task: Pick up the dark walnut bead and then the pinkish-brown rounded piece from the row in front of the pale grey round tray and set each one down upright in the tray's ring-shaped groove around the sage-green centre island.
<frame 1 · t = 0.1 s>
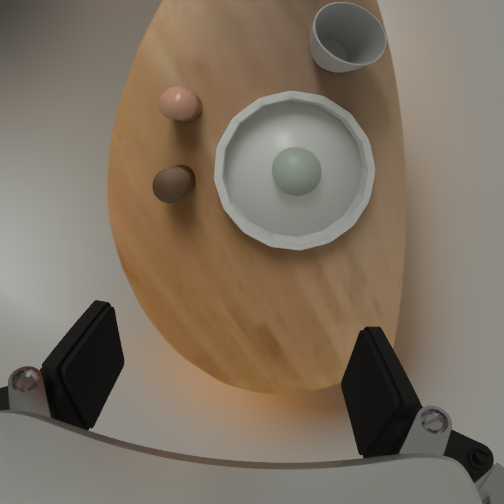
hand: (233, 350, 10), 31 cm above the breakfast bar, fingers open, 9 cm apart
cup: (329, 55, 32), on the breakfast bar
groove tray: (294, 169, 38), on the breakfast bar
pinkish-brown rounded piece: (187, 107, 35), on the breakfast bar
walnut bead: (181, 179, 39), on the breakfast bar
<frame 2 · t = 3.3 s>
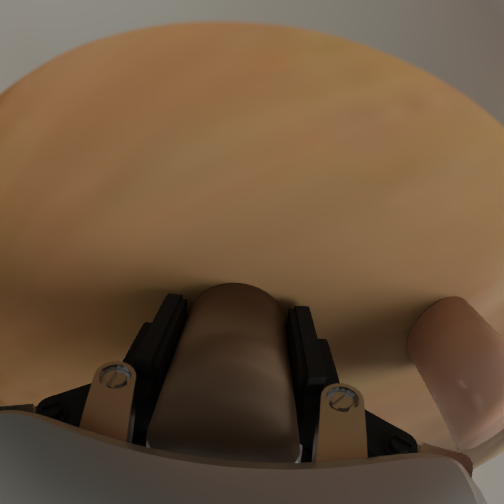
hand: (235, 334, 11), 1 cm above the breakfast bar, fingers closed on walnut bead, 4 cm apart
pinkish-brown rounded piece: (440, 331, 12), on the breakfast bar
walnut bead: (236, 326, 12), on the breakfast bar, touching gripper
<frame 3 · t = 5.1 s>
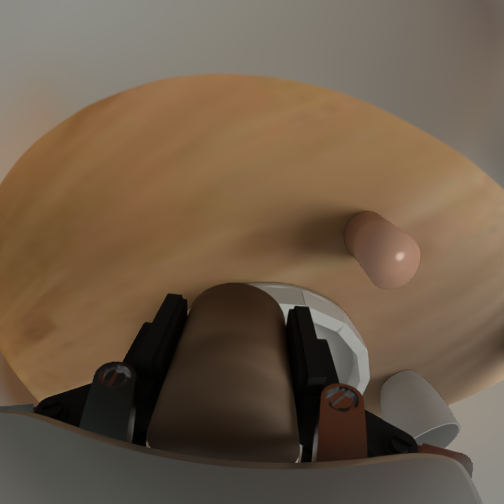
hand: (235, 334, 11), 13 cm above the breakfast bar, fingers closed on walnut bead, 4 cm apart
cup: (399, 383, 30), on the breakfast bar
groove tray: (264, 367, 29), on the breakfast bar
pinkish-brown rounded piece: (366, 234, 23), on the breakfast bar
walnut bead: (236, 326, 12), point 13 cm above the breakfast bar, touching gripper
when the fingers open (3 cm above the breakfast bar, at t = 7.3 s): walnut bead drops 1 cm, resting on groove tray.
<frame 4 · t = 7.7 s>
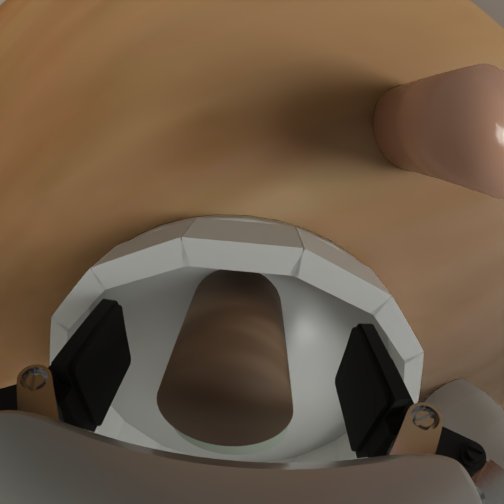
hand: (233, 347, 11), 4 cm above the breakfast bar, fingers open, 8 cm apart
cup: (443, 399, 18), on the breakfast bar
groove tray: (233, 382, 16), on the breakfast bar
pinkish-brown rounded piece: (411, 127, 11), on the breakfast bar
walnut bead: (236, 307, 13), point 1 cm above the breakfast bar, touching groove tray
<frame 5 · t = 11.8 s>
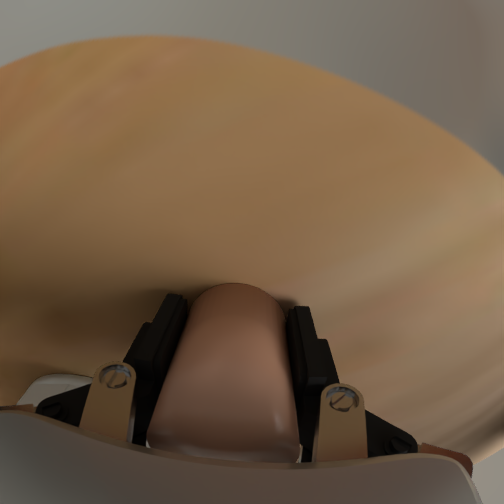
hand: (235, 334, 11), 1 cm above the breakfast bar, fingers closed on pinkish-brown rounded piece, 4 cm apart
groove tray: (137, 461, 17), on the breakfast bar
pinkish-brown rounded piece: (236, 326, 12), on the breakfast bar, touching gripper
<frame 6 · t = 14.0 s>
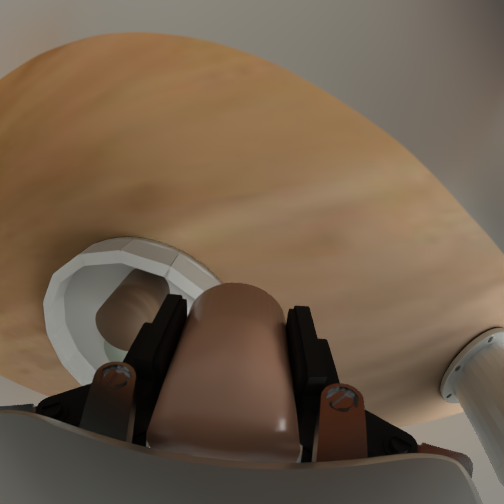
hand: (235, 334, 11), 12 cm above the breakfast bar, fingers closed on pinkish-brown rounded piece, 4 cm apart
groove tray: (145, 334, 27), on the breakfast bar
pinkish-brown rounded piece: (236, 326, 12), point 12 cm above the breakfast bar, touching gripper
walnut bead: (147, 288, 24), point 1 cm above the breakfast bar, touching groove tray
when the fingers open (3 cm above the breakfast bar, at t = 16.5 s): pinkish-brown rounded piece drops 1 cm, resting on groove tray.
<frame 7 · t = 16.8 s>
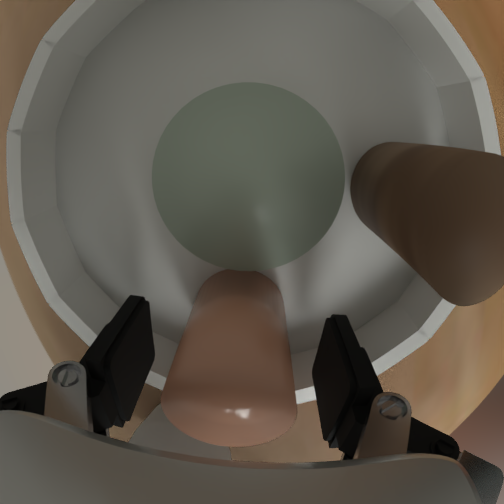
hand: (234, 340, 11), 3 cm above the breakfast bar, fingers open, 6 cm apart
cup: (188, 419, 18), on the breakfast bar
groove tray: (250, 169, 12), on the breakfast bar
pinkish-brown rounded piece: (239, 308, 13), point 1 cm above the breakfast bar, touching groove tray
walnut bead: (394, 189, 11), point 1 cm above the breakfast bar, touching groove tray
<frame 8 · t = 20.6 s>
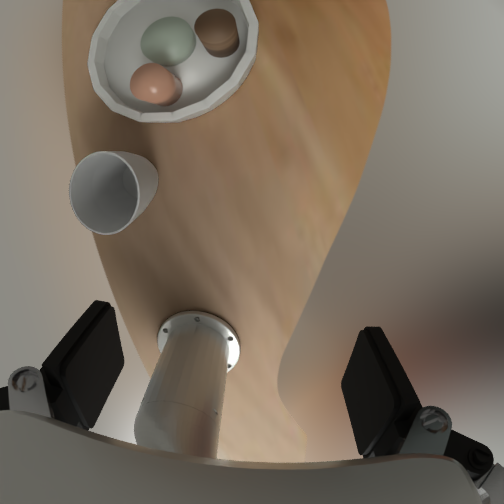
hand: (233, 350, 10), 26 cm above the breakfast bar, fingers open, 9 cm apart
cup: (140, 178, 34), on the breakfast bar
groove tray: (173, 46, 28), on the breakfast bar
pinkish-brown rounded piece: (166, 90, 29), point 1 cm above the breakfast bar, touching groove tray
walnut bead: (222, 42, 27), point 1 cm above the breakfast bar, touching groove tray
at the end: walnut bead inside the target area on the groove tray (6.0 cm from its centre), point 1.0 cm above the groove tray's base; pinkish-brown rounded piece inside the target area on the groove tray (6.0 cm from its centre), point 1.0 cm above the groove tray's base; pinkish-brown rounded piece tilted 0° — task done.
